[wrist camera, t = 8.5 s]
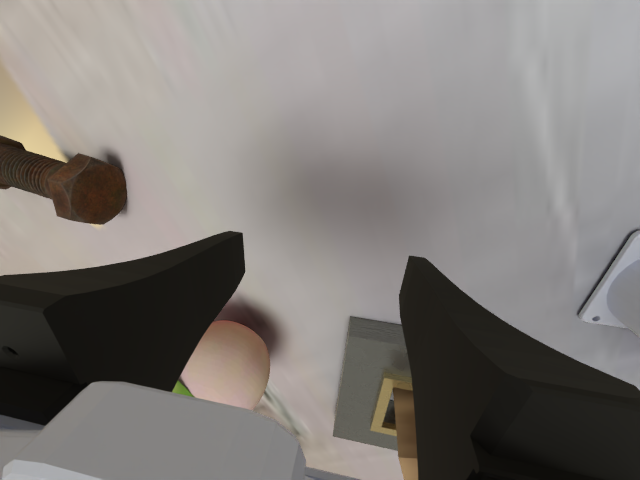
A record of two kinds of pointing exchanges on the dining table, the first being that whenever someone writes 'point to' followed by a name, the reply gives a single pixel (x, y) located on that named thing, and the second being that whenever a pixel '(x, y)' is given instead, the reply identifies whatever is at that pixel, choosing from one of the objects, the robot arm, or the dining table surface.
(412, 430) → the brown rectangular block
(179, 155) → the dining table surface
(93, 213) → the bolt
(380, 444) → the grey socket base
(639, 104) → the dining table surface
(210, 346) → the decorative fruit
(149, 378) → the robot arm
